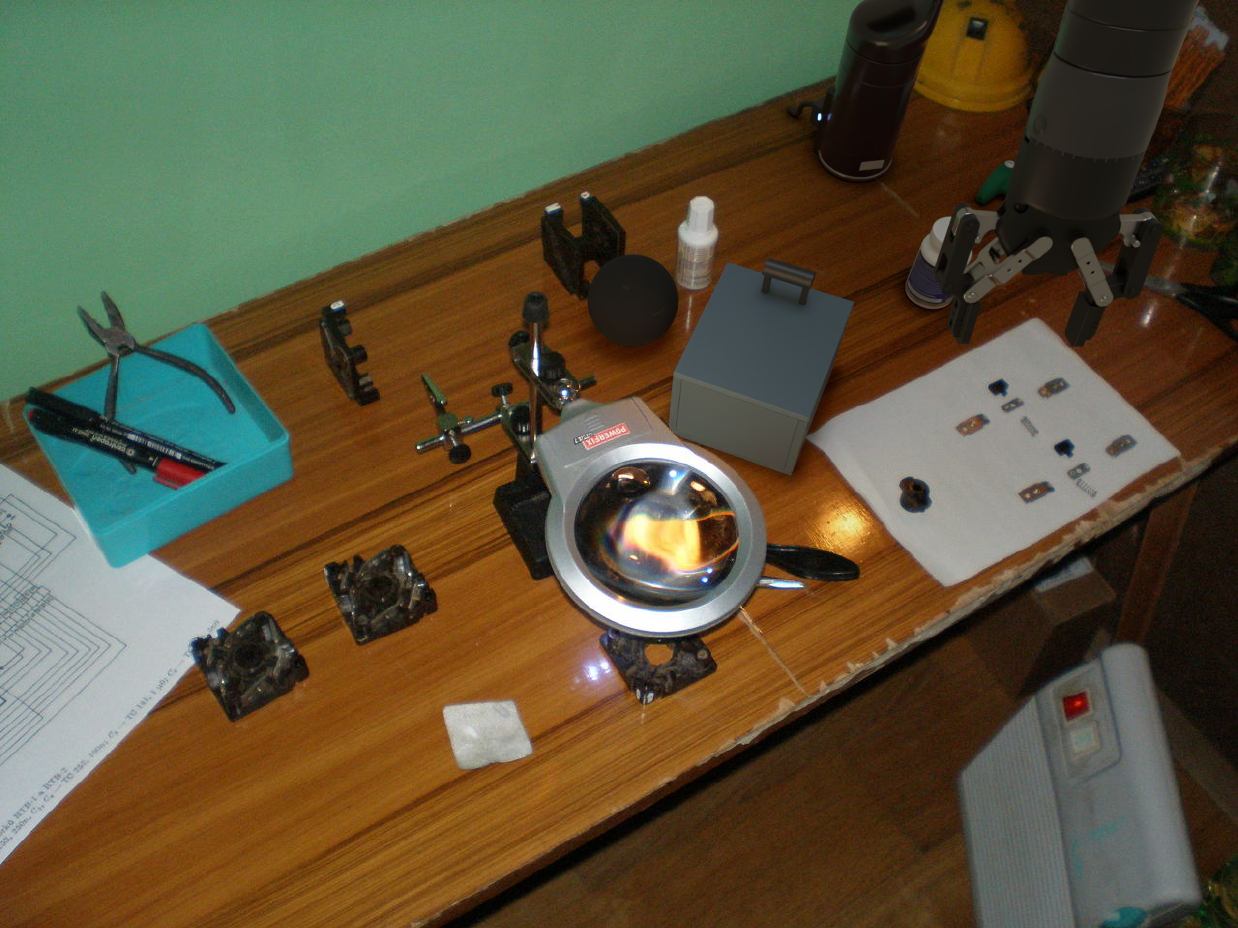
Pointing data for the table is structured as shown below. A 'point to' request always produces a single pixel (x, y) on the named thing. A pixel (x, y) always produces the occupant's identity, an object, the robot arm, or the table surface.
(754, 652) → the table surface
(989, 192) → the gaming controller
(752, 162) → the table surface
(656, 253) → the table surface
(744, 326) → the lid
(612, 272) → the black ball
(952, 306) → the robot arm
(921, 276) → the pill bottle
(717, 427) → the grey box
